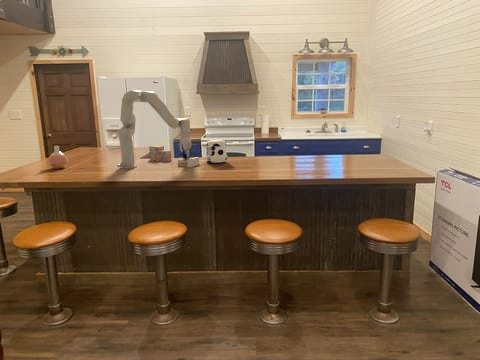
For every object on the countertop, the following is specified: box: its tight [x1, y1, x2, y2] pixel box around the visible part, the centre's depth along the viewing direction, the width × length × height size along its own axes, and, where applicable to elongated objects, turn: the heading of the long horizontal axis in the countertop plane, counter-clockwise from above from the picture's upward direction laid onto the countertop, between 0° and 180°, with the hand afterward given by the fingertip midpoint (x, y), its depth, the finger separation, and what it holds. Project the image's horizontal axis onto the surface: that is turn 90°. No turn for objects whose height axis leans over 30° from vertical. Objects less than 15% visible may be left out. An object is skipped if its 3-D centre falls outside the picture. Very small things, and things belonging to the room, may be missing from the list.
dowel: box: [184, 148, 189, 160], centre depth 276 cm, size 4×4×12 cm
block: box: [177, 157, 192, 168], centre depth 278 cm, size 10×10×5 cm
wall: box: [187, 156, 200, 168], centre depth 275 cm, size 13×2×6 cm, turn 153°
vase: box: [47, 145, 69, 170], centre depth 274 cm, size 14×14×18 cm
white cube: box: [205, 139, 228, 164], centre depth 288 cm, size 17×17×18 cm
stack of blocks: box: [148, 145, 172, 163], centre depth 304 cm, size 21×6×12 cm, turn 53°
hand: (186, 157), depth 277 cm, fingers closed on dowel, 4 cm apart
